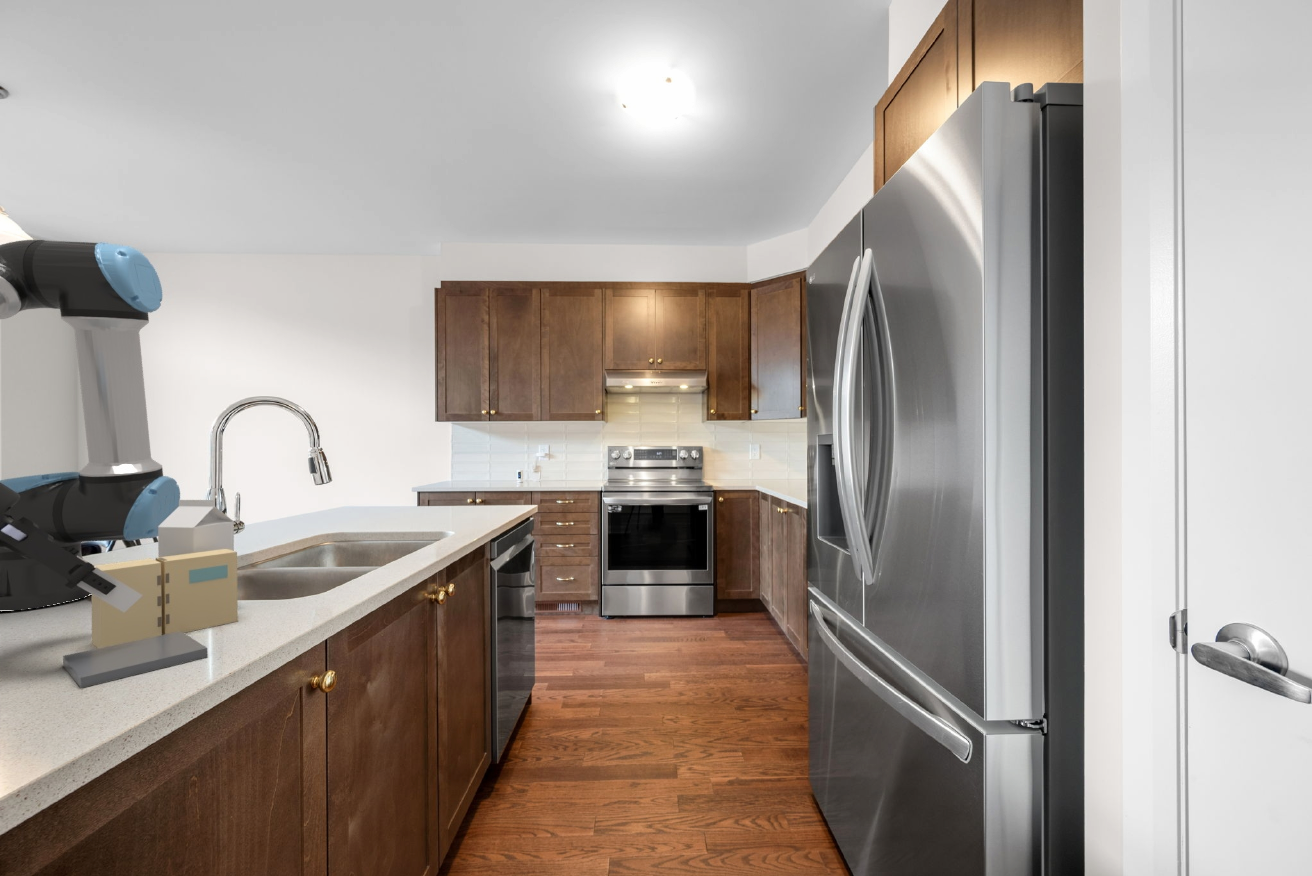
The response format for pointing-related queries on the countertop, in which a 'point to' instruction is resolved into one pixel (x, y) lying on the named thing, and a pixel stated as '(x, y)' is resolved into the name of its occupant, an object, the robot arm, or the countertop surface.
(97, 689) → the countertop surface
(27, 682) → the countertop surface
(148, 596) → the tan rectangular block
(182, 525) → the milk carton
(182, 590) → the cardboard shipping box
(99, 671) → the plate
